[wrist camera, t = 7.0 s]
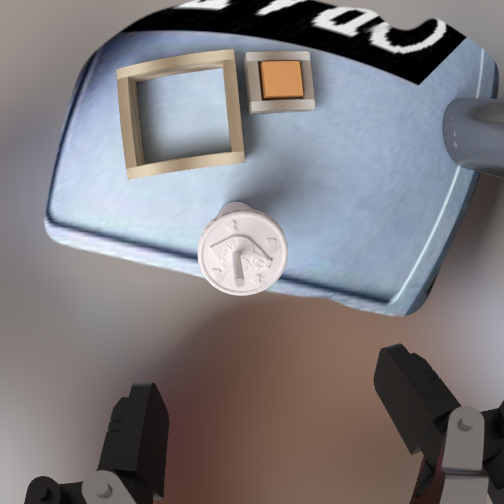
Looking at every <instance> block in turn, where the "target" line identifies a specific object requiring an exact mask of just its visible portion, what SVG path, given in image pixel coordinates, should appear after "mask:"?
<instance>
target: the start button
mask: <svg viewBox="0 0 504 504" xmlns="http://www.w3.org/2000/svg"><path fill="white" fill-rule="evenodd" d="M259 75H260V84H261V94H262V100H274V99H297V98H299V97H301V96H303V87H302V78H301V69H300V61H268V62H262V63H261V65H260V67H259Z"/></svg>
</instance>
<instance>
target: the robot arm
mask: <svg viewBox="0 0 504 504" xmlns="http://www.w3.org/2000/svg"><path fill="white" fill-rule="evenodd" d="M443 134H444V140H445V145H446V148H447V150H448V153H449V154H450V156H451V158H452V159H453V160H454V161H455V163H456V164H458V165H459V166H461V167H463V168H467V169H471V170H475V171H479V172H483V173H487V174H490V175H494V176H497V177H501V178H504V99H458V100H455V101H453V102H452V103H451V104H450V105H449V107H448V108H447V110H446V113H445V115H444V121H443ZM374 386H375V390H376V392H377V394H378V396H379V397H380V399H381V401H382V403H383V404H384V406H385V408H386V410H387V412H388V413H389V415H390V417H391V419H392V420H393V422H394V424H395V426H396V428H397V429H398V432H399V433H400V435H401V437H402V439H403V441H404V443H405V444H406V446H407V448H408V450H409V452H410V454H411V455H413V454H415V453H418V452H420V451H422V453H423V455H424V456H423V458H422V462H421V466H420V470H419V473H418V477H417V481H416V484H415V488H414V491H413V494H412V497H411V500H410V502H409V504H485V502H486V496H487V492H488V494H489V496H490V498H491V500H492V503H493V504H504V401H503V402H502V404H501V405H500V407H499V408H497V409H492V410H488V411H483V412H479V411H478V410H477V409H475V408H473V407H470V406H461V405H460V403H459V402H458V401H457V400H456V398H455V397H454V396H453V394H452V393H451V392H450V390H449V389H448V388H447V386H446V385H445V384H444V383H443V381H442V380H441V379H440V378H438V375H437V374H436V372H435V371H433V369H432V367H431V366H430V365H429V364H428V362H427V361H426V360H425V359H423V358H422V357H420V356H419V355H417V354H415V353H412V354H410V353H409V352H408V351H407V349H406V348H405V347H404V346H403V345H402V344H396V345H392V346H389V347H385V348H382V349H381V350H380V353H379V357H378V362H377V366H376V370H375V374H374ZM168 431H169V414H168V411H167V408H166V405H165V403H164V401H163V399H162V397H161V395H160V392H159V390H158V388H157V386H156V384H155V383H134V384H133V385H132V387H131V391H130V395H129V397H128V398H127V397H122V398H121V399H120V400H119V401H118V403H117V404H116V405H115V407H114V408H113V412H112V415H111V418H110V422H109V426H108V432H107V433H106V438H105V441H104V446H103V449H102V453H101V457H100V462H99V466H98V469H97V471H95V472H93V473H91V474H89V475H88V476H87V477H86V478H85V480H84V481H82V482H77V483H68V484H58V483H57V482H55V481H54V480H53V479H51V478H50V477H45V476H41V477H37V478H35V479H34V480H32V482H31V483H30V484H29V486H28V490H27V493H26V498H25V503H24V504H153V499H162V500H163V497H164V480H165V467H166V454H167V442H168Z"/></svg>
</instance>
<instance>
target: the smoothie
mask: <svg viewBox="0 0 504 504" xmlns="http://www.w3.org/2000/svg"><path fill="white" fill-rule="evenodd" d="M287 258H288V246H287V242H286V239H285V236H284V233H283V231H282V229H281V228H280V226H279V225H278V223H277V222H276V221H275V220H274V219H272V218H271V217H270V216H269V215H267V214H265V213H263V212H261V211H259V210H256V209H252V208H251V207H249V206H248V205H247V204H245V203H243V202H237V201H236V202H230V203H228V204H226V205H225V206H223V207H222V209H221V210H220V212H219V213H218V215H217V217H215V218H214V219H212V220H211V221H210V223H209V224H208V225H207V226H206V227H205V228H204V230H203V233H202V235H201V237H200V239H199V246H198V261H199V265H200V268H201V271H202V273H203V275H204V276H205V278H206V279H207V280H208V281H209V282H210V283H211V284H212V285H213V286H214V287H216V288H217V289H219V290H221V291H223V292H225V293H228V294H233V295H251V294H255V293H258V292H261V291H263V290H265V289H267V288H268V287H270V286H271V285H272V284H273V283H275V282H276V281H277V279H278V278H279V277H280V276H281V274H282V272H283V271H284V268H285V266H286V263H287Z"/></svg>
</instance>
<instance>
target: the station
mask: <svg viewBox="0 0 504 504" xmlns="http://www.w3.org/2000/svg"><path fill="white" fill-rule="evenodd" d="M268 61H300V69H301V78H302V87H303V96H301V97H299V98H297V99H274V100H262V94H261V84H260V75H259V67H260V65H261V63H262V62H268ZM219 68H223V75H224V85H225V96H226V106H227V116H228V126H229V136H230V146H231V151H229V152H220V153H212V154H204V155H197V156H190V157H183V158H177V159H170V160H164V161H158V162H153V163H147V164H145V160H144V152H143V144H142V136H141V127H140V118H139V107H138V96H137V82H140V81H145V80H149V79H154V78H159V77H164V76H170V75H175V74H181V73H188V72H195V71H202V70H210V69H219ZM244 71H245V81H246V91H247V102H248V112H249V115H251V114H265V113H284V112H307V111H311V110H314V109H315V98H314V88H313V79H312V70H311V61H310V54H309V52H306V51H261V52H246V54H245V57H244ZM117 86H118V100H119V112H120V122H121V131H122V140H123V148H124V156H125V163H126V170H127V176H128V180H129V179H135V178H140V177H145V176H151V175H157V174H163V173H169V172H175V171H182V170H189V169H196V168H203V167H211V166H219V165H227V164H236V163H245V156H244V146H243V136H242V125H241V115H240V105H239V95H238V85H237V74H236V64H235V54H234V49H229V50H218V51H209V52H201V53H193V54H187V55H180V56H174V57H169V58H163V59H158V60H153V61H149V62H144V63H140V64H136V65H132V66H128V67H124V68H120V69H117Z"/></svg>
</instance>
